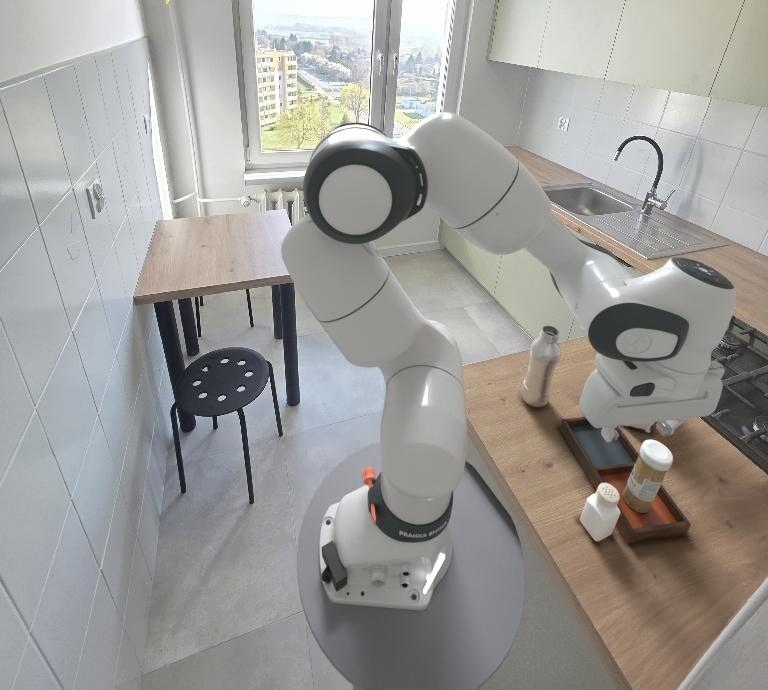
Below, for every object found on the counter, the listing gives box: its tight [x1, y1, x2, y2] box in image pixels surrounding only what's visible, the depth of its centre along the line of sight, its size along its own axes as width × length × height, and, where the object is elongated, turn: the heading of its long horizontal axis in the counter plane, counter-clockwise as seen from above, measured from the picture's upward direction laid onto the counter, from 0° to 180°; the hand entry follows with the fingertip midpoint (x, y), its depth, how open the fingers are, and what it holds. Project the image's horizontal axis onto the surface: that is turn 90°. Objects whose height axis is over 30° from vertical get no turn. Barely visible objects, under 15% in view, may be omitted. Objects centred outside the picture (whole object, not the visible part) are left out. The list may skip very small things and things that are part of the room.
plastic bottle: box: [520, 324, 562, 408], centre depth 93 cm, size 6×7×20 cm
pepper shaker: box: [579, 483, 620, 542], centre depth 70 cm, size 4×4×10 cm
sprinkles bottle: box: [622, 439, 674, 513], centre depth 73 cm, size 5×5×13 cm
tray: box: [559, 416, 692, 545], centre depth 80 cm, size 11×22×3 cm, turn 8°
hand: (636, 434), depth 64 cm, fingers open, 8 cm apart
